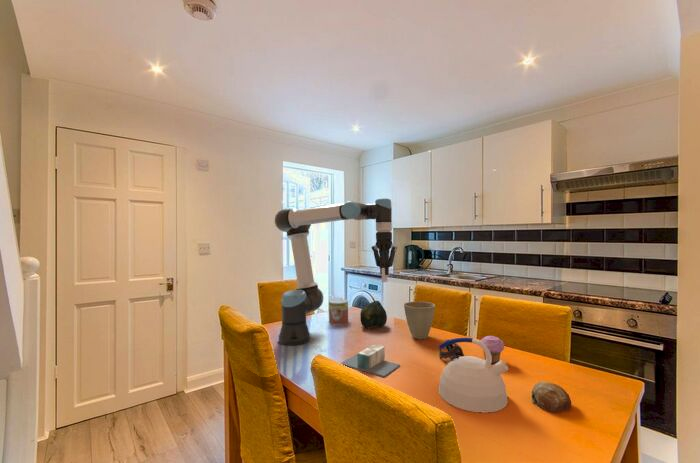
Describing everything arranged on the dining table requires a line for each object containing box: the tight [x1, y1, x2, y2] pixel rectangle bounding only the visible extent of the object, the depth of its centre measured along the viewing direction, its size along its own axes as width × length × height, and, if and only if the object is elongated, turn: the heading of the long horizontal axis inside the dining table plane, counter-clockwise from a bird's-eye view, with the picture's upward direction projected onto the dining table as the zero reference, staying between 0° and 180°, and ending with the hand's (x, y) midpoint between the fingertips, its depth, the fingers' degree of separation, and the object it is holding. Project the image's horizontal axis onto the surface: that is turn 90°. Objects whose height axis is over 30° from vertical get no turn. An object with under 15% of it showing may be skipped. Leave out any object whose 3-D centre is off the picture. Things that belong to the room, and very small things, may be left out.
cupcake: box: [479, 335, 505, 364], centre depth 126 cm, size 9×9×10 cm
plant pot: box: [403, 301, 436, 340], centre depth 157 cm, size 15×15×16 cm
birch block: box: [356, 344, 386, 370], centre depth 126 cm, size 5×5×12 cm
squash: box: [359, 300, 388, 329], centre depth 175 cm, size 14×15×15 cm
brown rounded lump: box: [531, 381, 572, 414], centre depth 95 cm, size 10×10×8 cm
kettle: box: [438, 337, 509, 414], centre depth 101 cm, size 20×21×18 cm
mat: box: [340, 353, 401, 378], centre depth 125 cm, size 20×12×1 cm, turn 54°
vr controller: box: [438, 339, 465, 360], centre depth 131 cm, size 12×10×8 cm
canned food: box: [328, 298, 349, 326], centre depth 186 cm, size 11×11×12 cm
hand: (384, 281), depth 151 cm, fingers closed
